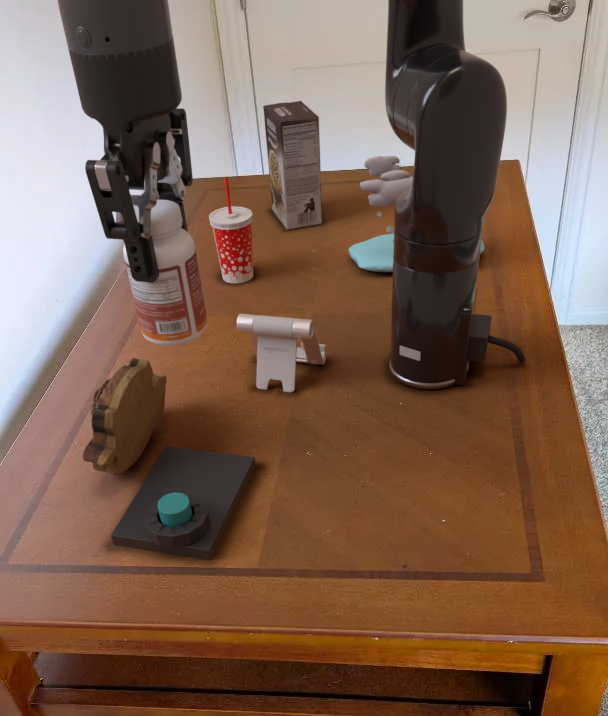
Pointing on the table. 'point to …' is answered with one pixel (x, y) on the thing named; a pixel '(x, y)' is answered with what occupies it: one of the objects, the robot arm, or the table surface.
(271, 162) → the coffee box
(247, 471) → the black push button board
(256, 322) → the tablet stand
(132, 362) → the wooden carving
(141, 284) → the pill bottle
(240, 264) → the beverage cup
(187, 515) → the tare button
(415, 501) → the table surface
